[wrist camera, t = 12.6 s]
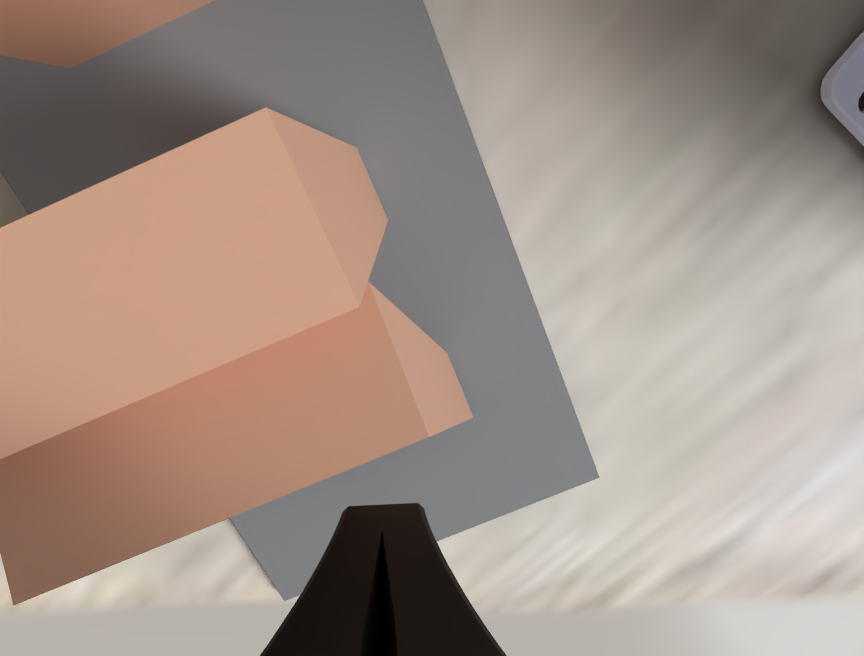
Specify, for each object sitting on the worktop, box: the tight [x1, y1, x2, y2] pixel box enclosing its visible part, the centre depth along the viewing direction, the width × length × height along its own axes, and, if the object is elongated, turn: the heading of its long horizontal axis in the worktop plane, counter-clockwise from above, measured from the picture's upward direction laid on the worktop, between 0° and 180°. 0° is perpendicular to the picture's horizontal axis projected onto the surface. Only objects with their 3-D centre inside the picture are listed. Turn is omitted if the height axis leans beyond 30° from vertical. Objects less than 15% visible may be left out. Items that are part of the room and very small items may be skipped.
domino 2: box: [0, 282, 474, 605], centre depth 10 cm, size 2×4×8 cm, turn 112°
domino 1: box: [0, 108, 388, 459], centre depth 8 cm, size 2×4×8 cm, turn 113°
